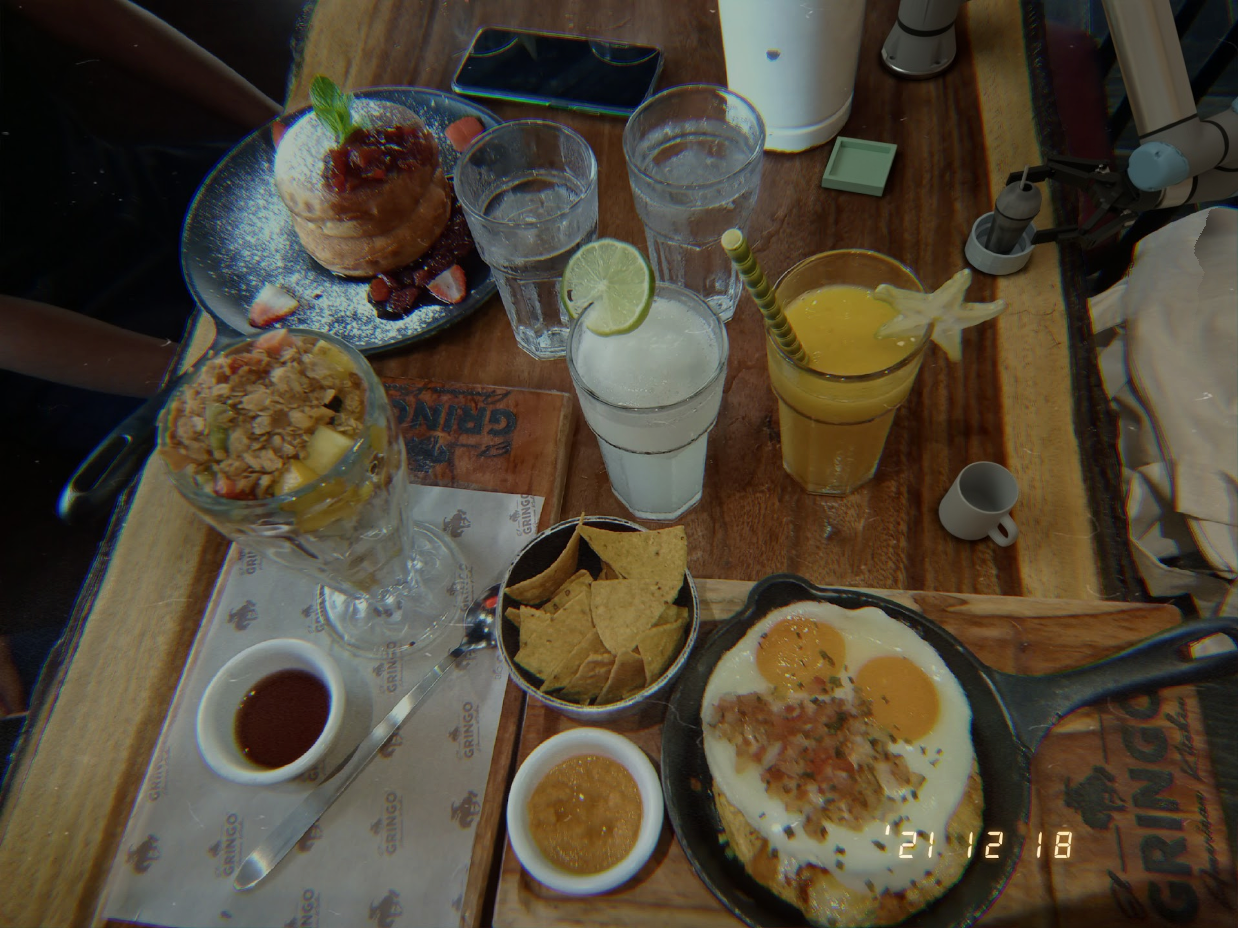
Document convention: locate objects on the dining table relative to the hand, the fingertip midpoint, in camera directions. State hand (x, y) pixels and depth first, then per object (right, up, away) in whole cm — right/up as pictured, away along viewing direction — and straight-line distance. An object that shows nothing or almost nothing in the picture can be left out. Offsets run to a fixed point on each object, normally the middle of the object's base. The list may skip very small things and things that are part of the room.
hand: (1020, 208), depth 126 cm
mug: (-14, -54, -12) cm, 57 cm away
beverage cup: (+1, -5, +10) cm, 11 cm away
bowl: (+1, -5, +10) cm, 11 cm away
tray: (-20, +16, +23) cm, 35 cm away
